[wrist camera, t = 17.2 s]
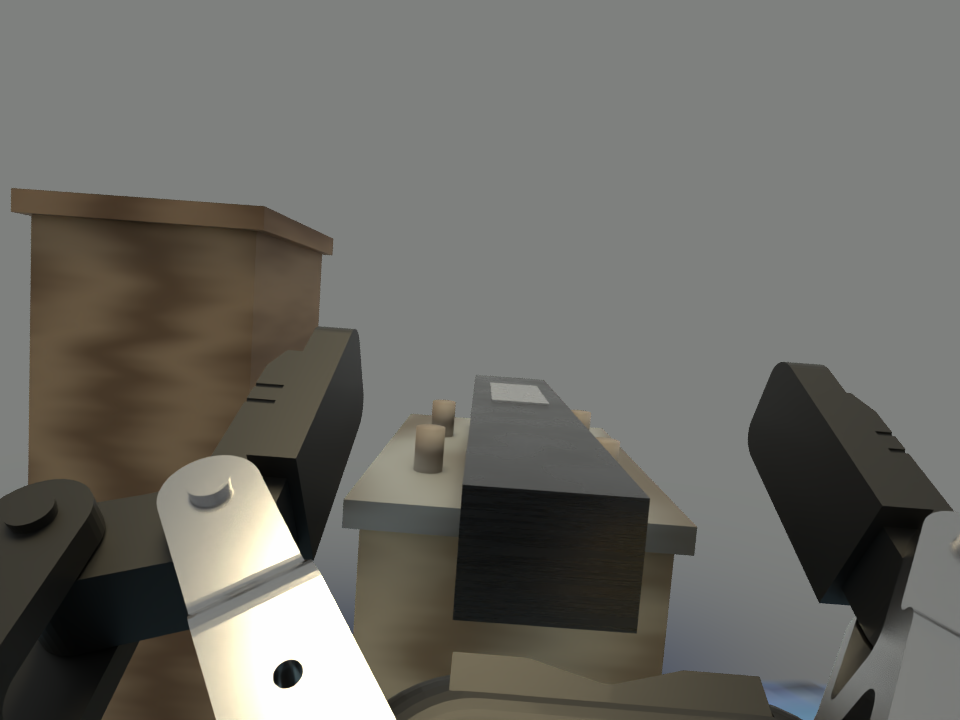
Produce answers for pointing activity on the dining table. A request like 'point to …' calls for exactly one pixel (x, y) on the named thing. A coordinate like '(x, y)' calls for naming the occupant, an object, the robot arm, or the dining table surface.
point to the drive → (545, 517)
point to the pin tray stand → (433, 559)
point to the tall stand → (155, 360)
